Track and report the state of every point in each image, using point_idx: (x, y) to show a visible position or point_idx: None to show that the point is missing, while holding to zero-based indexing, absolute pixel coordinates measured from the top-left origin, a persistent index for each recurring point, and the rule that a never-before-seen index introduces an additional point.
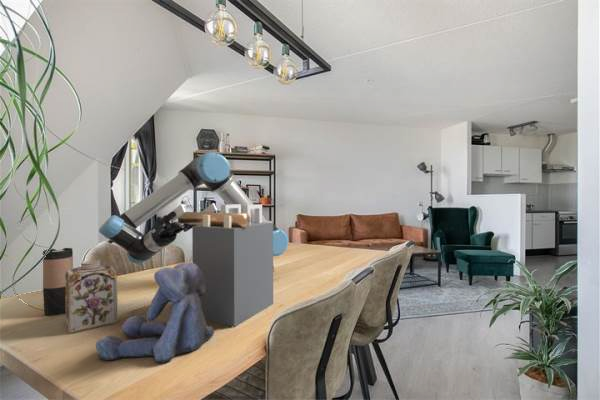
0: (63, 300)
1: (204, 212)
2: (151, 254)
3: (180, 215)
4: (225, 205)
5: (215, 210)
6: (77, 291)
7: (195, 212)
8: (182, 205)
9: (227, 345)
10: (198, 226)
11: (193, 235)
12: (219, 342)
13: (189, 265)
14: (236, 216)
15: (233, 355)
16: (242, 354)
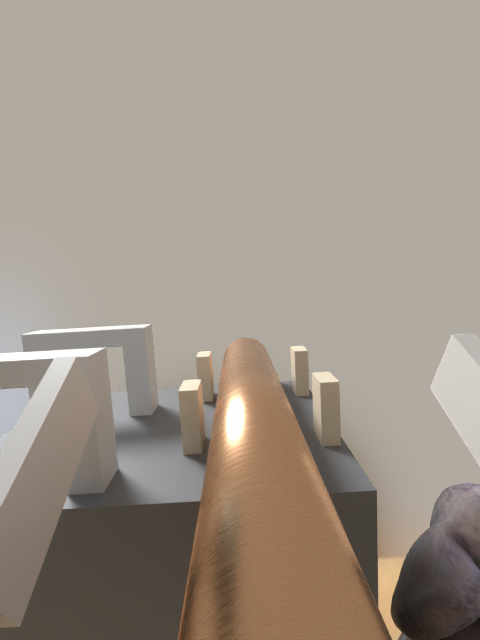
0: None
1: (259, 401)
2: None
3: (473, 437)
4: (105, 350)
5: (92, 413)
6: None
7: (277, 441)
8: (458, 344)
9: (385, 606)
10: (353, 461)
11: (373, 543)
12: (394, 632)
13: (477, 484)
14: (265, 350)
15: (395, 571)
16: (379, 561)
